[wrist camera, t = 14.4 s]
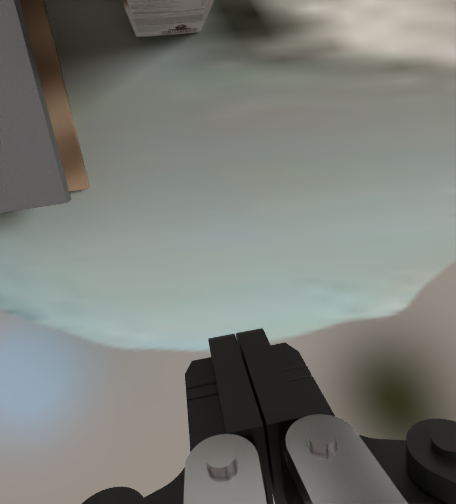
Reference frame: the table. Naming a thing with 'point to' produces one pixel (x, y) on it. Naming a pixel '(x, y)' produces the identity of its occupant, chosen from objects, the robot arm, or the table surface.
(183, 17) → the coffee box
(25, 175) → the level plate
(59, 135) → the walnut base
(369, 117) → the table surface
